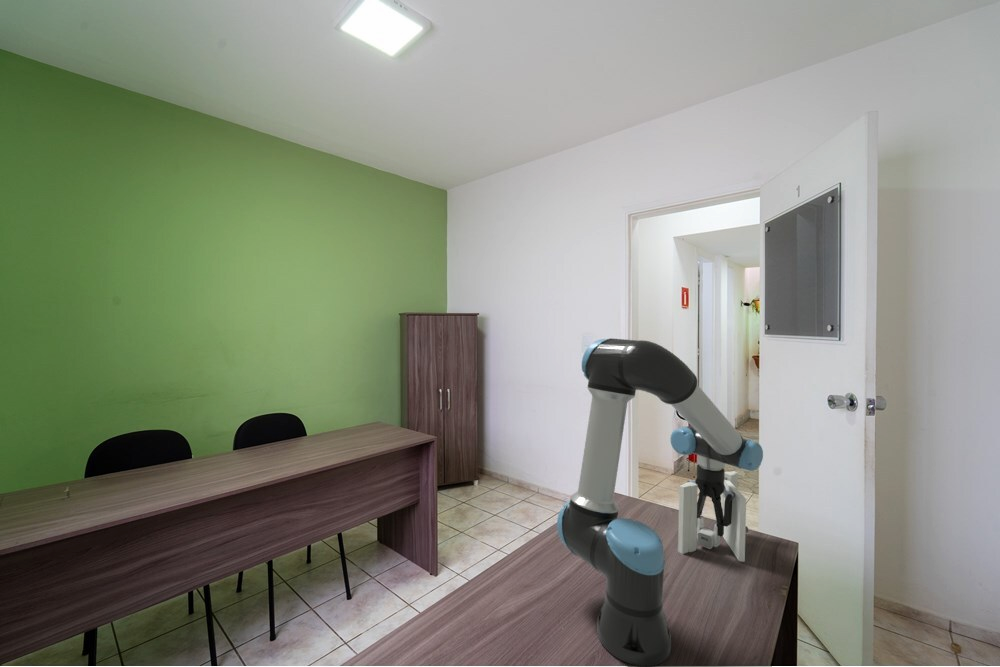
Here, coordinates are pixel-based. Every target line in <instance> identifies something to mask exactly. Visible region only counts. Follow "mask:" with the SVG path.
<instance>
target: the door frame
mask: <svg viewBox="0 0 1000 667" xmlns="http://www.w3.org/2000/svg"><path fill="white" fill-rule="evenodd" d="M724 480H729V481H730V482H731V483H732V484H733V485H734V486H735V487H736V489H737V490H738V487H739V485H738V484H739V483H738V481H739V472H737V471H735V470H732V471H725V476H724ZM678 488H679V489H678V490H679V491H678V496H679V497H678V527H677V528H678V530H677V532H678V534H677V535H678V536H677V537H678V538H677V540H678V541H677V553H678V554H679V553H680V554H681V555H684V554H687V553H693V552H695V551H696V550H697V502H698V489H699V488H698V485H697V484H695V483H692V482H687V481H686V482H684V484H681V485H679V487H678ZM723 500H724V493H722V501H723ZM722 510H723V506H722Z"/></svg>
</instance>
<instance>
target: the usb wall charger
mask: <svg viewBox="0 0 1000 667" xmlns="http://www.w3.org/2000/svg"><path fill="white" fill-rule="evenodd" d="M697 545H698V546H700V547H703V548H705V549H708V550H712V549H713V547H714V529H713V528H712V529H710V528H709V527H705V526H704V527H703V528H702V529H701V530H700V531H699V533H698V539H697Z"/></svg>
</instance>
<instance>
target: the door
mask: <svg viewBox="0 0 1000 667" xmlns="http://www.w3.org/2000/svg"><path fill="white" fill-rule="evenodd" d="M724 486H725V488H726V490H727V491H729V492H730V493H731V492H733V493H734V494H735V496H734V498H733V500H732V519H731V524H730V525H729V526H727V527H726V526H724V534H723V536H722V537H723V539H724V540H725V542H726V544H727V545H728V546H729V548H730V550H731V551H732V552H733V554H734V556H735V557H736V559H737V560H738V562H742V563H743V562H744V563H745V562H746V533H749V528H748V526H747V525H746V524H747V522H746V520H747V499H746V497H745V496H744V495H743V494H742V493H741V492H740V490H738V488H737V489H736V487H735V486H734V485H733V484H732V483H731V482H730V481H729V480H724ZM725 499H726V498H724V500H723V499H722V507H723V516H724V504H725Z"/></svg>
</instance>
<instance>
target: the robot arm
mask: <svg viewBox="0 0 1000 667" xmlns="http://www.w3.org/2000/svg"><path fill="white" fill-rule="evenodd" d="M581 371H582V372H583V376H584V377H585V378H586V380H587V381H588V384H587V389H588V391H589V393H590V394H591V396H592V397H591V403H590V410H589V415H588V416H589V417H588V424H587V429H586V437H585V442H584V449H583V455H582V463H581V469H580V474H579V475H580V476H579V481H578V488H577V491H576V492H574V493H573V494H572V495H571V496H570V498H569V499H570V500H568V501H566V502H565V503H564V504H563V508H561V509H560V510H559V513H558V516H557V519H556V520H557V521H556V530H557V535H558V537H559V540H560V541H561V543H562V544H563V546H565V547H566V548H567V549H568V550H569V551H570V553H572V554H573V555H575V556H577V557H579V559H581V560H583V561H584V562H585V563H587V564H588V565H589V566H591V567H592V568H593V569H594V570H596V571H597V572H599V573H600V574H602V575H603V577H605V580H606V582H605V597H604V599H603V603H602V605H601V608H600V611H599V613H598V615H597V622H596V624H597V625H596V627H597V628H596V631H597V637H598V639H599V641H600V643H601V645H602V646H603V647H604V649H606V651H608V652H609V653H610V655H612V656H614V657H615V658H617V659H619V660H620V661H622V662H624V663H627V664H629V665H633V666H637V667H638V666H639V667H654V666H657V665H660V664H662V663H664V662H666V660H667V659H668V658H669V656H670V655H671V651H672V650H671V649H672V637H671V631H670V629H669V626H668V623H667V618H666V615H665V612H664V609H663V607H664V605H663V603H664V573H665V570H664V569H665V554H664V553H665V552H664V544H663V541H662V538H661V537H660V535H659V534H658V533H657V532H656V530H654V529H653V528H652V527H650V526H649V525H647V524H646V523H644V522H641V521H640V520H639V521H638V520H632V518H625V517H624V518H623V517H622V518H618V514H619V510H620V509H619V508H620V507H619V506H618V504H617V503H616V501H615V499H614V497H615V496H614V495H615V491H616V490H615V489H616V484H617V483H616V482H617V478H618V477H617V476H618V470H619V462H620V456H621V448H622V443H623V442H622V441H623V436H624V430H625V429H624V428H625V424H626V422H625V421H626V416H627V415H626V414H627V409H628V404H629V402H630V401H631V400H632V399H634V398H635V397H636V391H641V392H646V393H650V394H651V395H654V396H655V397H657V398H658V399H659V400H660V401H661V402H662V403H664V404H666V405H671V406H672V407H673V409H675V410H676V411H677V413H678V414H679V415H680V416H681V417H682V418H683V419H684V420H685V422H687V423H688V424H689V425H688V426H681V427H679V428H676V429H674V430H673V431H671V435H670V445H671V447H672V449H673V450H674V452H676V453H678V454H679V455H683V456H686V455H687V456H689V455H692V454H693V455H696V463H697V465H696V478H695V479H689V480H687V481H686V483H687V482H692V483H695V484H697V485H698V488H697V489H698V490H699V493H698V497H697V530H696V540H698V533H699V531H700V530H701V529H702V528H703V527H705V526H704V525H705V524H704V522H705V516H704V515H703V510H704V507H705V504H706V500H707V497H708V498H710V499H711V501H712V504H713V505H712V506H713V510H714V516H715V521H716V523H715V524H714V525H713V526H714V527H713V530H714V546H713V547H714V548H718V547H719V546H720V545H721V537H723V534H724V526H726V527H727V526H729V525H730V524H731V519H732V500H733V498H734V496H735V494H734V493H733V492H731V493H730V492H729V491H727V490H726V488H725V486H724V476H725V472H726V470H725V469H724V468H725V465H729V466H732V467H736V468H737V469H742V470H747V471H752V472H754V471H756V470H758V469H759V468H760V466H761V464H762V463H763V462H762V461H763V459H764V458H763V457H764V450H763V447H762V445H761V444H760V443H758V442H756V441H753V440H751V439H746V438H744V437H743V436H742V434H740V433H739V431H738V430H737V429H736V427H734V425H733V424H732V423H731V422H730V421H729V420H728V419H727V418H726V416H725V415H724V414H723V413H722V412H721V410H719V409H720V408H718V407H717V406H716V405H715V403H714V402H713V401H712V400H711V399H710V397H708V395H707V394H706V393H705V392H704V391H703V389H702V388H701V387H700V386H699V385H698V384H699V382H698V380H699V379H698V378H697V376H696V374H695V372H693V370H692V369H690V367H689V366H688V364H686V363H685V362H684V361H683V360H681V359H680V357H678V356H677V355H676V354H674V353H673V352H671V351H670V350H668V349H667V348H665V346H662V345H660V344H658V343H655V342H653V341H650V340H643V339H642V340H641V339H640V340H637V339H636V340H633V339H623V338H622V339H621V338H612V337H611V338H601V339H597V340H595V341H594V342H592V343H591V344H590V345H588V347H587V348H586V350H585V351H584V353H583V356H582V359H581ZM723 493H724V498H726V499H725V504H724V516H723V510H722V507H723V504H722V495H723Z"/></svg>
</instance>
